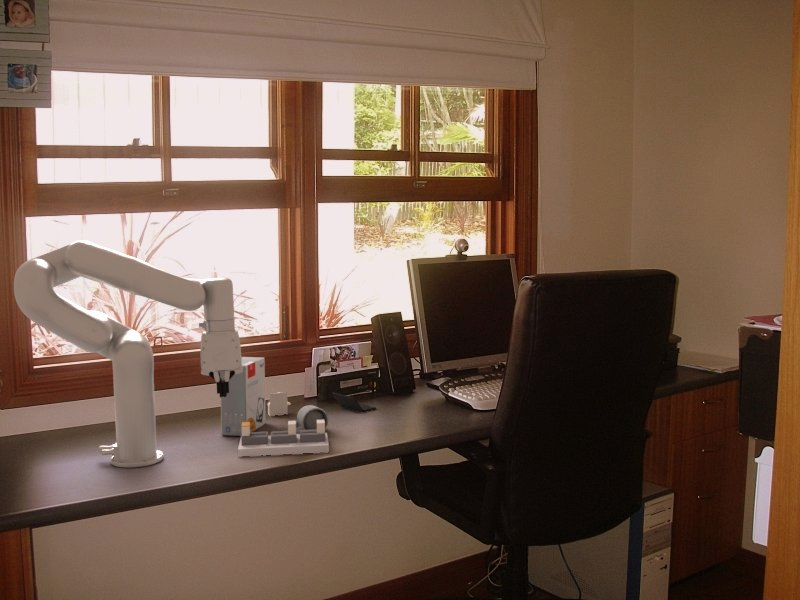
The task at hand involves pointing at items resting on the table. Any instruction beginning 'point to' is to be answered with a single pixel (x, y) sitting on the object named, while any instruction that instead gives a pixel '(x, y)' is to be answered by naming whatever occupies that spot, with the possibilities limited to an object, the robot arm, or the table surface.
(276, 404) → the architectural model
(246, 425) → the breaker handle
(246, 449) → the white slotted rack
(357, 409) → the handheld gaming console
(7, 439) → the table surface
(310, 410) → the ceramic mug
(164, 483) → the table surface
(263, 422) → the hard drive box
